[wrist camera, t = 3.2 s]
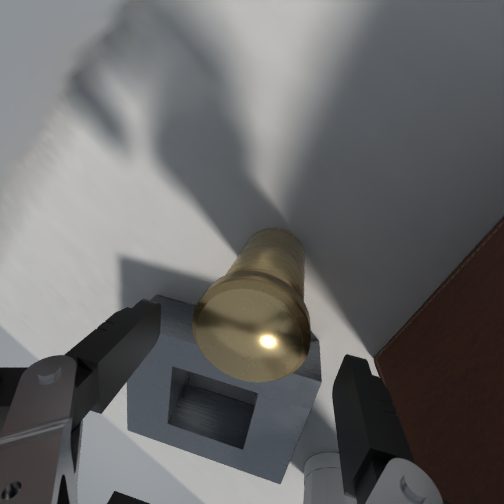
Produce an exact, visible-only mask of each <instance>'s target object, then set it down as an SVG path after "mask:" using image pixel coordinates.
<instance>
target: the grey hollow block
mask: <svg viewBox="0 0 504 504" xmlns="http://www.w3.org/2000/svg"><path fill="white" fill-rule="evenodd" d="M150 301H153V302H157V303H160V304H161V326H160V335H159V338H158V341H157V343H156V345H155V346H154V347H153V349H152V350H151V351H150V352H149V354H148V355H147V356H146V358H145V359H144V360H143V361H142V363H141V364H140V365H139V366H138V368H137V369H136V370H135V372H134V373H133V374H132V375H131V377H130V378H129V379H128V380H127V424H128V430H129V431H132V432H134V433H137V434H140V435H143V436H146V437H148V438H151V439H154V440H157V441H160V442H163V443H165V444H168V445H171V446H174V447H177V448H179V449H182V450H185V451H188V452H191V453H193V454H196V455H199V456H202V457H205V458H208V459H210V460H213V461H216V462H219V463H222V464H224V465H227V466H230V467H233V468H236V469H239V470H241V471H244V472H247V473H250V474H253V475H255V476H258V477H261V478H264V479H267V480H270V481H272V482H275V483H278V484H281V482H282V479H283V477H284V474H285V472H286V469H287V467H288V465H289V462H290V460H291V457H292V455H293V452H294V450H295V447H296V445H297V442H298V440H299V437H300V435H301V432H302V430H303V427H304V425H305V422H306V420H307V417H308V415H309V412H310V410H311V407H312V405H313V403H314V400H315V398H316V395H317V393H318V390H319V388H320V385H321V383H322V379H321V362H320V346H319V341H318V340H314V339H311V341H310V349H309V353H308V355H307V357H306V359H305V361H304V362H303V364H302V365H301V366H300V367H299V368H298V369H297V370H296V371H295V372H293V373H292V374H290V375H288V376H286V377H284V378H282V379H278V380H275V381H269V382H248V381H243V380H239V379H236V378H234V377H231V376H229V375H227V374H225V373H223V372H222V371H220V370H219V369H218V368H216V367H215V366H214V365H213V364H212V363H211V362H210V361H209V360H208V359H207V358H206V357H205V356H204V355H203V353H202V352H201V350H200V349H199V347H198V345H197V343H196V341H195V338H194V335H193V329H192V318H193V313H194V310H195V308H196V306H194V305H191V304H187V303H184V302H180V301H177V300H173V299H170V298H166V297H163V296H159V295H156V296H155V297H154V298H153V299H151V300H150ZM189 372H192V373H196V374H199V375H202V376H205V377H208V378H211V379H215V380H218V381H221V382H224V383H227V384H230V385H234V386H237V387H240V388H243V389H246V390H249V391H253V392H256V396H255V399H254V403H253V405H250V404H247V403H244V402H241V401H238V400H235V399H232V398H228V397H225V396H222V395H219V394H216V393H213V392H210V391H207V390H204V389H201V388H197V387H194V386H191V385H188V379H189Z"/></svg>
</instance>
